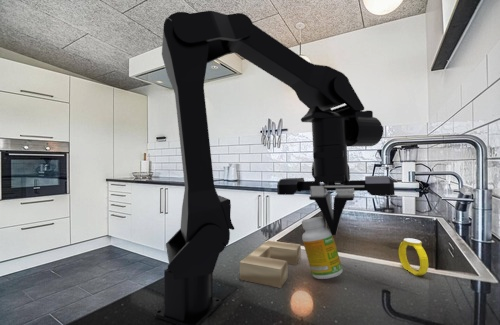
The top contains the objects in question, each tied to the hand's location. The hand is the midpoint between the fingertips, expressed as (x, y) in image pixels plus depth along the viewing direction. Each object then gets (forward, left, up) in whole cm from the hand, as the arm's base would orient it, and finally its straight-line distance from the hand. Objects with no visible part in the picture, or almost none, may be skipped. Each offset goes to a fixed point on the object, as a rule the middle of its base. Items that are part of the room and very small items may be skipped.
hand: (334, 234), depth 42 cm
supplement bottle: (0, +1, -7) cm, 7 cm away
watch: (+9, -13, -8) cm, 17 cm away
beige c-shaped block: (0, +11, -8) cm, 14 cm away
